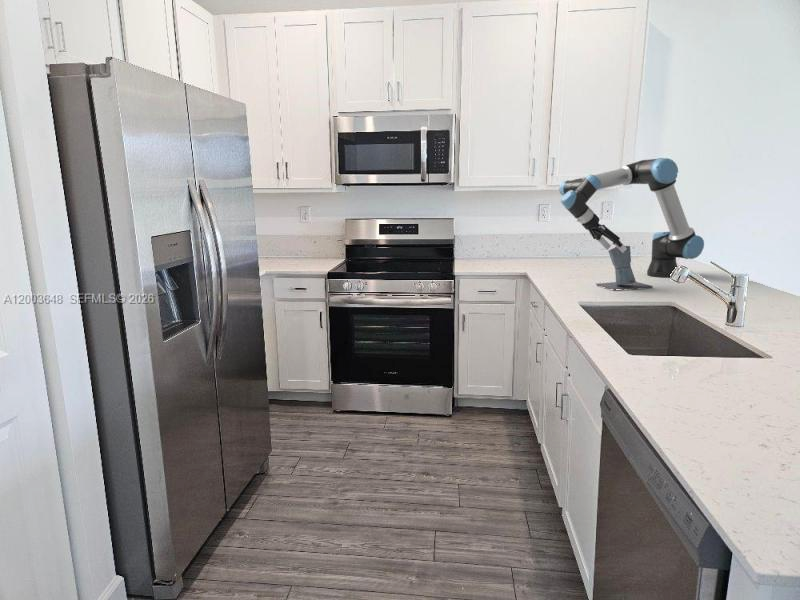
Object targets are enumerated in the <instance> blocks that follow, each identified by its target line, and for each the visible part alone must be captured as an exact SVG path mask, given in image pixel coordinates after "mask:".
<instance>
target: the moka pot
mask: <svg viewBox="0 0 800 600" xmlns="http://www.w3.org/2000/svg"><path fill="white" fill-rule="evenodd" d="M624 246H625V247H626V248H627V249H626V250H625V251H624V253H622V252H621V251H620V250H619V249H618V248H617V247H616V246H615V247H612V248H610V249H608V253H609V257H610V260H611V263H612V266H614V269H615V271H614V272H615V273H614V274H615V282H616V285H617V286H618V285H626V284H631V283H635V282H637V280H636V277H635V274H634V272H633V269H632V267H631V266H632V265H631V263H632V256H631V246H630V245H624Z"/></svg>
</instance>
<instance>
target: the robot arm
mask: <svg viewBox="0 0 800 600" xmlns="http://www.w3.org/2000/svg"><path fill="white" fill-rule="evenodd" d="M678 173H679V168H678V166H677V163H676V162H675V161H674V160H673V159H672V158H667V157H659V158H652V159H651V158H650V159H641V160H639V161H635V162H632V163H629V164H626V165H622V166H621V167H620V168H617V169H614V170H609V171H605V172H601V173H597V174H593V173H591V174H588V175H586V176H584V177H580V178H576V179H571V180H564V181H562V182H561V183H560V184H559V188H558V190H559V194H560V195H562V197H561V199H560V203H561V204H562V206H563V207H564V208H565V209H566V210H567V211H568V212H569V213H570V214H571V215H572V216H573V217H574V218H575V219H576V222H578V223H579V224H581V226H582V227H583V228H584V229H585V230H587V231H588V232H589V234H590V236H591V237H592V238H593V240H596V241H598V242H599V244H600V245H602V247H603V248H604V249H605V250H606V251H607V250H608V251H609V250H610V249H611V247H612V245H614V246H615V247H617V248H618V249H619V250H620V251H621V252H622V253H624V251H625V250H626V249H627V248H626V247H625V246H626V245H624V244H623V243H622V241H621V238H620V237H619V236H618V235H617V234H615V233H614V231H612V230H611V229H609V228H608V227H607V226H606V225H605V224H601V223H599V222H600V218H599V216H598V215H597V214H596V213H595V212H594V210H592V209H591V207H589V206H588V205H587V202H588V201H589V200H590V198H592V197H593V195H594V194H595V193H596V192H598V191H599V190H603V189H607V188H612V187H616V186H620V185H623V186H629V185H648V188H649V189H650V192H653V193H654V194H655V197H656V198H657V201H658V204H659V207H660V209H661V212H662V214H663V217H664V220H665V223H666V226H667V227H668V231H662V232H661V231H660V232H655V233H653V236H652V243H651V261H650V264H649V266H648V268H647V270H646V275H647V276H651V277H656V278H670V277H669V276H670V274H671V273H672V271H673V270H674V269H675V267H678V264H677V258H679V259H685V260H693V259H696V258H698V257H699V256H700V255H701V254H702V252H703V250H704V247H705V241H704V239H703V237H702V236H700V235H696V232H695V229H694V228H693V227H690V225H689V224H688V221H687V217H686V215H685V212H684V209H683V206H682V204H681V200H680V199H679V198H680V197H679V196H678V192H677V190H676V188H675V185H676V182H677V180H676V179H677V177H678ZM605 238H606V239H607V240H609V241H611V242H612V244H610V243H609V242H608V241H607V240H606V239H605Z"/></svg>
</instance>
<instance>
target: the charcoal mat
mask: <svg viewBox="0 0 800 600" xmlns="http://www.w3.org/2000/svg"><path fill="white" fill-rule="evenodd" d="M595 285H598V286H597V287H599V286H602V287H605V288H604V289H606V288H609V289H613V290H616V289H633V290H639V289H638V288H646V289H653V285H650V284H647V283H642V282H639V281H636V282H635V283H631V284H626V285H618V286H617V285H616V281H614V282H602V283H601V282H599V283H596V284H595ZM602 287H601V288H602ZM609 289H608V290H609Z"/></svg>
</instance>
